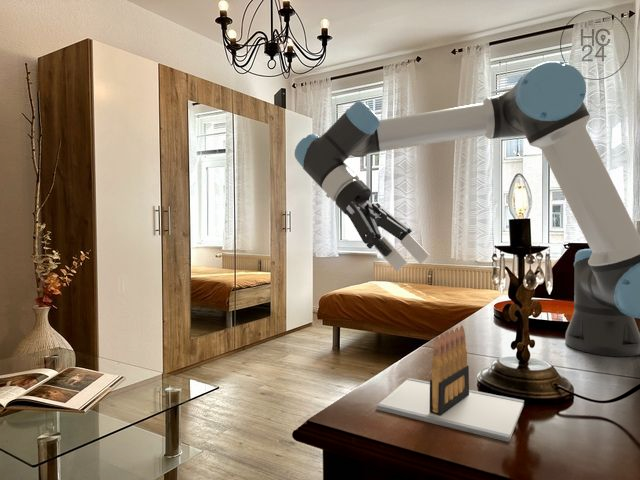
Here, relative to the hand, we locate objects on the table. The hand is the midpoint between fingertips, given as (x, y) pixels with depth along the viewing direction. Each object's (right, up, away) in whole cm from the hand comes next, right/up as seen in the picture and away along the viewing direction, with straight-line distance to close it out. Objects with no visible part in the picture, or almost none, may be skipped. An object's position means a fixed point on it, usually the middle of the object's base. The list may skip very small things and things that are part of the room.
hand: (414, 263), depth 87 cm
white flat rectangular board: (+2, -23, -16) cm, 28 cm away
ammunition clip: (+2, -22, -16) cm, 28 cm away
